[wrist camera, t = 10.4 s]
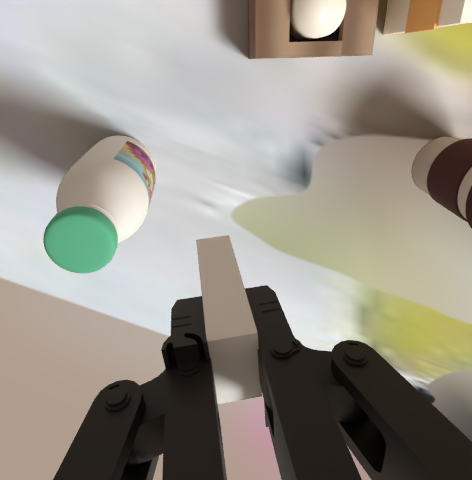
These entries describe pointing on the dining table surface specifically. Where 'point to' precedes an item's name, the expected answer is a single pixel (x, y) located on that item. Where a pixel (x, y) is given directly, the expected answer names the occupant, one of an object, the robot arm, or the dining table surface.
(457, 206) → the coffee cup
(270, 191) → the dining table surface
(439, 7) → the pattern card
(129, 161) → the milk bottle
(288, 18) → the button board
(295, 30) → the button
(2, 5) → the dining table surface
